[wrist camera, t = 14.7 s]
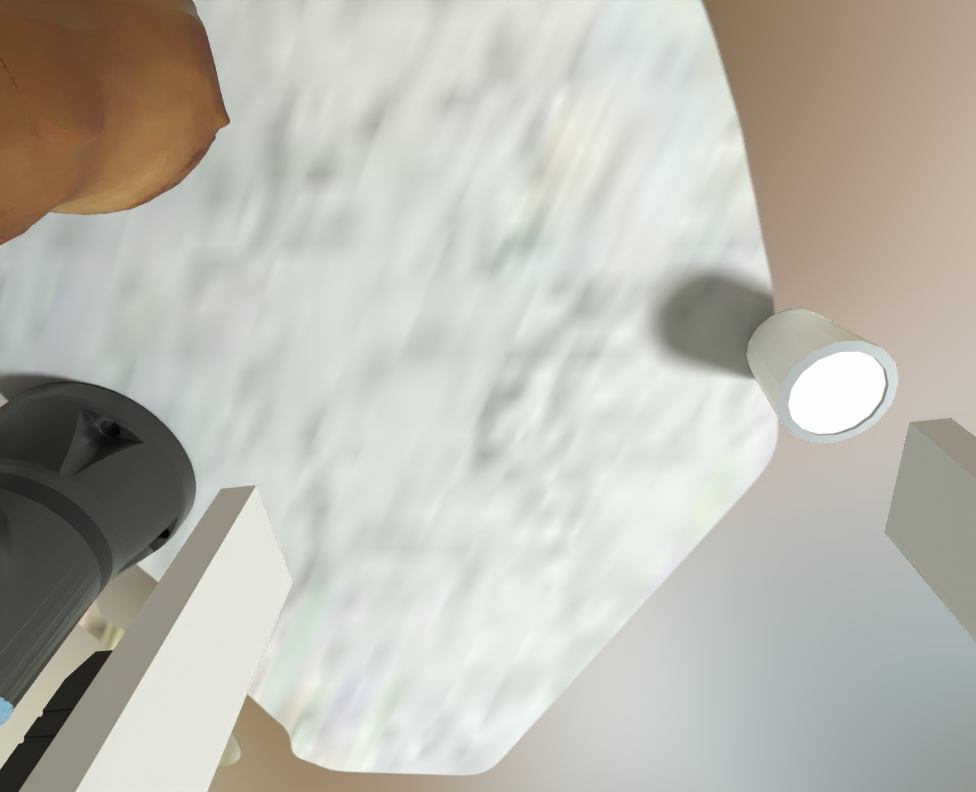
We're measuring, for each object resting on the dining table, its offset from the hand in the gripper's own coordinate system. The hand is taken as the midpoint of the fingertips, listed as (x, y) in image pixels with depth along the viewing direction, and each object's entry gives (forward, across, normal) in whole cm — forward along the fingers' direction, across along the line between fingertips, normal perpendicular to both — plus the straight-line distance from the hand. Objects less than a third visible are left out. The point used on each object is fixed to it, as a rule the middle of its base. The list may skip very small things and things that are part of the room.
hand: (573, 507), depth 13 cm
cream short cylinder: (+29, +17, -11) cm, 35 cm away
